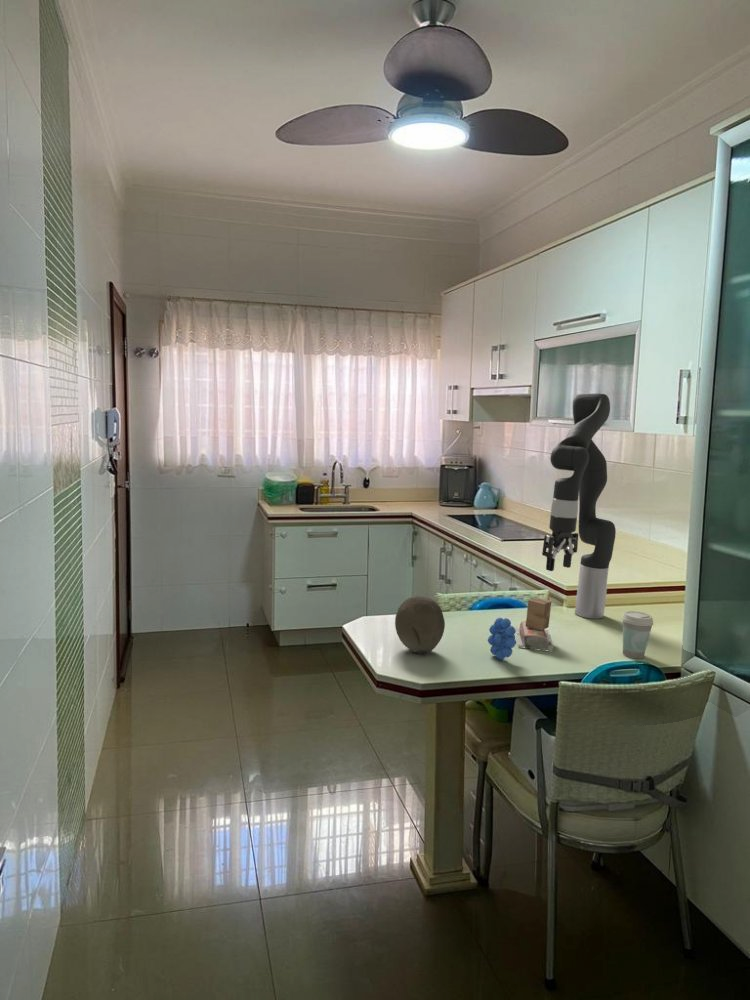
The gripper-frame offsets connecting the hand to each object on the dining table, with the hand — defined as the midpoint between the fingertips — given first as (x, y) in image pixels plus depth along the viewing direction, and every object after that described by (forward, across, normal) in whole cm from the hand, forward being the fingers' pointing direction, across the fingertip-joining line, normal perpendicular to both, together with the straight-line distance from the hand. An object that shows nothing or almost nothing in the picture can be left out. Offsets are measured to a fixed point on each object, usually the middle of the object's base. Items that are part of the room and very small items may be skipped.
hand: (558, 568), depth 214 cm
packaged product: (+23, +4, -3) cm, 23 cm away
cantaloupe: (+22, +41, -15) cm, 49 cm away
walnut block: (+18, +4, -3) cm, 18 cm away
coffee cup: (+22, -11, +20) cm, 32 cm away
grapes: (+22, +26, +2) cm, 34 cm away
